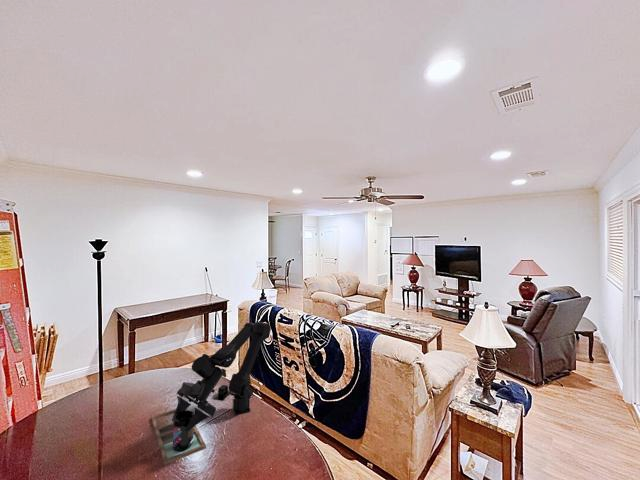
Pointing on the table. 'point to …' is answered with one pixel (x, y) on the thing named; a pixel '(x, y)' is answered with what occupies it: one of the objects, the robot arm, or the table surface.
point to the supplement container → (182, 431)
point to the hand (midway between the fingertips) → (179, 425)
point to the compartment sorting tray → (166, 440)
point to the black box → (222, 393)
